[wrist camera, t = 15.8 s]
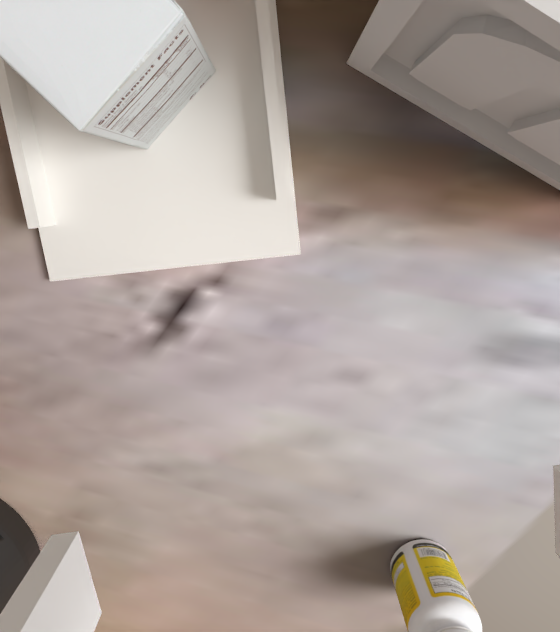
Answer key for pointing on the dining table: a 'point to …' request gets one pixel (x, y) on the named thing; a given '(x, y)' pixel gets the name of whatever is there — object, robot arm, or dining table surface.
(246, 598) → the dining table surface
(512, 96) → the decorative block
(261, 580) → the dining table surface
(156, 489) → the dining table surface
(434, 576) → the supplement bottle
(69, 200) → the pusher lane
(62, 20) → the supplement box
